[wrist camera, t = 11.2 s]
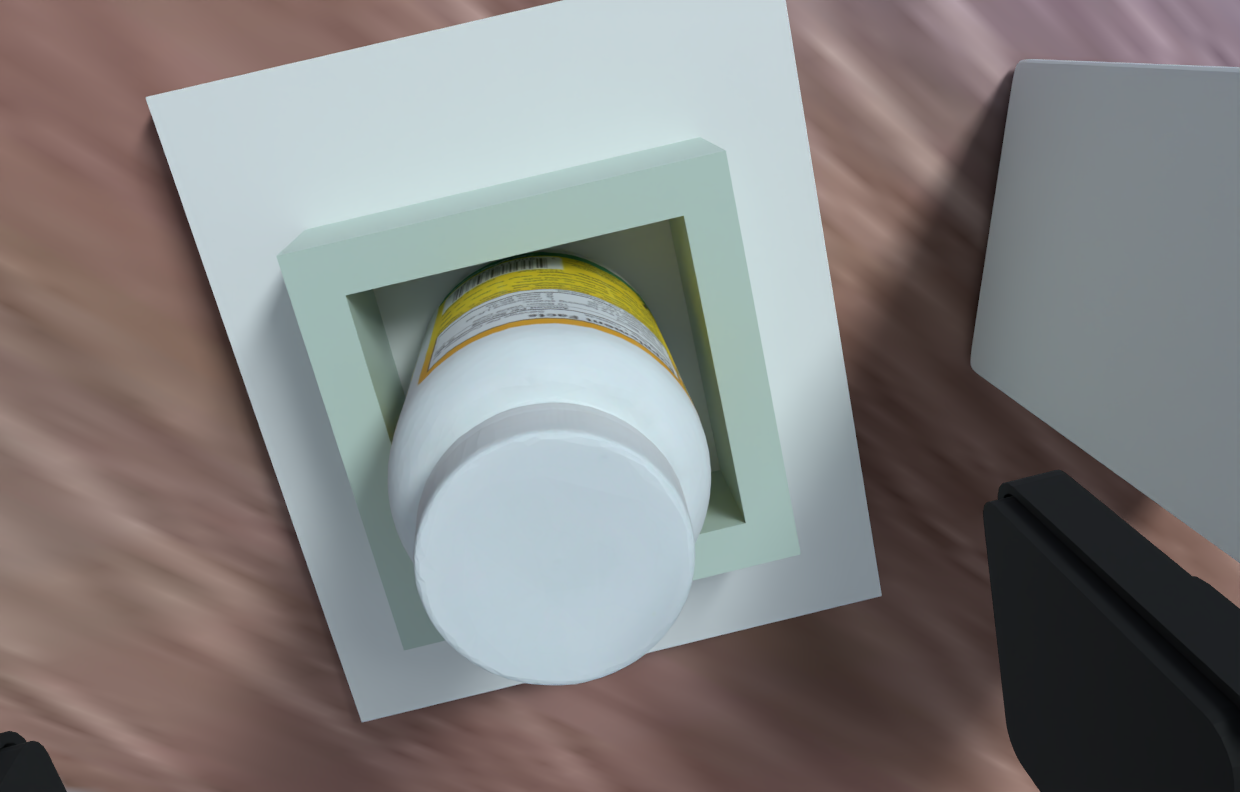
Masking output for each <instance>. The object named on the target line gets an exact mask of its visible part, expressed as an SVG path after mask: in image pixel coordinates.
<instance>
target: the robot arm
mask: <svg viewBox="0 0 1240 792" xmlns="http://www.w3.org/2000/svg"><path fill="white" fill-rule="evenodd" d="M983 519H984V528H985V537H986V546H987V555H988V564H989V573H990V582H991V591H992V600H993V609H994V618H995V627H996V636H997V645H998V654H999V663H1000V672H1001V681H1002V690H1003V699H1004V708H1005V717H1006V725H1007V730H1008V734H1009V738H1010V741H1011V744H1012V746H1013V749H1014V751H1015V754H1016V756H1017V758H1018V760H1019V761H1020V763H1021V765H1022V766H1023V768H1024V769H1025V770H1026V772H1027V773H1028V775H1029V776H1030V778H1031V779H1032V780H1033V782H1034V783H1035V785H1036V786H1037V787H1038V789H1039V790H1040V792H1240V609H1239V608H1238V607H1237V606H1236V605H1234V604H1233V603H1232V602H1231V601H1229V600H1228V599H1227V598H1226V597H1224V596H1223V595H1222V594H1221V593H1219V592H1218V591H1217V590H1216V589H1215V588H1213V587H1212V586H1211V585H1210V584H1208V583H1206V582H1205V581H1203V580H1201V579H1199V578H1198V577H1195V576H1191V575H1190V574H1189V573H1188V572H1186V571H1185V570H1184V569H1183V568H1181V567H1180V566H1179V565H1178V564H1177V563H1175V562H1174V561H1173V560H1172V559H1170V558H1169V557H1168V556H1167V555H1166V554H1164V553H1163V552H1162V551H1161V550H1159V549H1158V548H1157V547H1156V546H1154V545H1153V544H1152V543H1151V542H1150V541H1148V540H1147V539H1146V538H1145V537H1143V536H1142V535H1141V534H1140V533H1139V532H1137V531H1136V530H1135V529H1134V528H1132V527H1131V526H1130V525H1129V524H1128V523H1126V522H1125V521H1124V520H1123V519H1121V518H1120V517H1119V516H1118V515H1116V514H1115V513H1114V512H1113V511H1112V510H1110V509H1109V508H1108V507H1107V506H1105V505H1104V504H1103V503H1102V502H1101V501H1099V500H1098V499H1097V498H1096V497H1094V496H1093V495H1092V494H1091V493H1090V492H1088V491H1087V490H1086V489H1085V488H1083V487H1082V486H1081V485H1080V484H1078V483H1077V482H1076V481H1075V480H1074V479H1072V478H1071V477H1070V476H1069V475H1067V474H1066V473H1065V472H1063V471H1061V470H1055V471H1050V472H1046V473H1042V474H1038V475H1034V476H1030V477H1026V478H1022V479H1018V480H1014V481H1010V482H1006V483H1002V485H1001V486H1000V488H999V492H998V500H995V501H991V502H987V503H986V504H985V505H984V510H983ZM0 792H67V791H66V789H65V787H64V785H63V783H62V781H61V779H60V777H59V775H58V773H57V771H56V769H55V767H54V765H53V763H52V761H51V758H50V756H49V754H48V753H47V751H46V750H45V748H44V747H43V746H42V745H41V744H40V743H39V742H36V741H30V742H26V740H25V739H24V738H23V737H22V736H20V735H19V734H18V733H16V732H12V731H8V732H4V733H0Z"/></svg>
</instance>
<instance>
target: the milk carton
mask: <svg viewBox="0 0 1240 792" xmlns="http://www.w3.org/2000/svg"><path fill="white" fill-rule="evenodd" d="M971 367H972V369H973V370H974V371H975V372H976V373H977V374H979V375H980V376H981V377H983V378H984V379H985V380H987V381H988V382H990V383H991V384H992V385H994V386H995V387H997V388H998V389H999V390H1001V391H1002V392H1003V393H1005V394H1006V395H1008V396H1009V397H1010V398H1012V399H1013V400H1015V401H1016V402H1017V403H1019V404H1020V405H1021V406H1023V407H1024V408H1026V409H1027V410H1028V411H1030V412H1031V413H1033V414H1034V415H1035V416H1037V417H1038V418H1040V419H1041V420H1042V421H1044V422H1045V423H1046V424H1048V425H1049V426H1051V427H1052V428H1053V429H1055V430H1056V431H1058V432H1059V433H1060V434H1062V435H1063V436H1064V437H1066V438H1067V439H1069V440H1070V441H1071V442H1073V443H1074V444H1076V445H1077V446H1078V447H1080V448H1081V449H1082V450H1084V451H1085V452H1087V453H1088V454H1089V455H1091V456H1092V457H1094V458H1095V459H1096V460H1098V461H1099V462H1100V463H1102V464H1103V465H1105V466H1106V467H1107V468H1109V469H1110V470H1112V471H1113V472H1114V473H1116V474H1117V475H1118V476H1120V477H1121V478H1123V479H1124V480H1125V481H1127V482H1128V483H1130V484H1131V485H1132V486H1134V487H1135V488H1137V489H1138V490H1139V491H1141V492H1142V493H1143V494H1145V495H1146V496H1148V497H1149V498H1150V499H1152V500H1153V501H1155V502H1156V503H1157V504H1159V505H1160V506H1161V507H1163V508H1164V509H1166V510H1167V511H1168V512H1170V513H1171V514H1173V515H1174V516H1175V517H1177V518H1178V519H1179V520H1181V521H1182V522H1184V523H1185V524H1186V525H1188V526H1189V527H1191V528H1192V529H1193V530H1195V531H1196V532H1197V533H1199V534H1200V535H1202V536H1203V537H1204V538H1206V539H1207V540H1209V541H1210V542H1211V543H1213V544H1214V545H1216V546H1217V547H1218V548H1220V549H1221V550H1222V551H1224V552H1225V553H1227V554H1228V555H1229V556H1231V557H1232V558H1234V559H1235V560H1236V561H1238V562H1239V563H1240V67H1218V66H1193V65H1167V64H1142V63H1116V62H1091V61H1065V60H1040V59H1027V60H1021V61H1020V62H1019V63H1018V64H1017V65H1016V68H1015V72H1014V77H1013V82H1012V88H1011V94H1010V100H1009V107H1008V113H1007V120H1006V126H1005V133H1004V139H1003V146H1002V152H1001V159H1000V165H999V172H998V179H997V185H996V192H995V198H994V205H993V211H992V218H991V224H990V231H989V237H988V244H987V251H986V257H985V264H984V270H983V277H982V283H981V290H980V296H979V303H978V309H977V316H976V323H975V329H974V336H973V343H972V351H971Z"/></svg>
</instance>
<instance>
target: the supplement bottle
mask: <svg viewBox="0 0 1240 792" xmlns="http://www.w3.org/2000/svg"><path fill="white" fill-rule="evenodd" d="M710 488H711V466H710V456H709V450H708V445H707V440H706V436H705V433H704V430H703V427H702V425H701V422H700V418H699V416H698V413H697V411H696V409H695V407H694V405H693V402H692V400H691V398H690V395H689V393H688V391H687V389H686V387H685V385H684V383H683V381H682V378H681V376H680V374H679V372H678V370H677V367H676V365H675V363H674V361H673V358H672V356H671V354H670V351H669V349H668V347H667V345H666V343H665V341H664V339H663V336H662V334H661V332H660V330H659V328H658V326H657V323H656V321H655V319H654V317H653V315H652V313H651V311H650V309H649V308H648V306H647V305H646V303H645V301H644V300H643V298H642V297H641V296H640V294H639V293H638V292H637V291H636V289H635V288H634V287H633V286H632V285H631V284H630V283H629V282H628V281H627V280H626V279H624V278H623V277H622V276H620V275H619V274H618V273H616V272H615V271H613V270H612V269H610V268H609V267H607V266H605V265H603V264H601V263H600V262H597V261H595V260H593V259H591V258H588V257H585V256H583V255H579V254H576V253H572V252H566V251H560V250H550V249H540V250H536V251H532V252H527V253H523V254H519V255H515V256H511V257H506V258H502V259H498V260H494V261H489V262H487V263H485V264H483V265H481V266H479V267H477V268H476V269H474V270H473V271H471V272H470V273H469V274H467V275H466V276H465V277H463V278H462V279H461V280H460V281H459V282H458V283H457V284H455V285H454V286H453V287H452V288H451V290H450V291H449V292H448V293H447V294H446V295H445V297H444V298H443V299H442V300H441V302H440V304H439V305H438V307H437V309H436V310H435V312H434V314H433V316H432V318H431V320H430V322H429V324H428V327H427V330H426V333H425V336H424V339H423V342H422V345H421V349H420V352H419V356H418V359H417V362H416V366H415V369H414V372H413V375H412V379H411V383H410V386H409V389H408V392H407V395H406V399H405V402H404V405H403V408H402V411H401V414H400V416H399V420H398V423H397V426H396V429H395V432H394V436H393V441H392V445H391V449H390V455H389V461H388V496H389V503H390V509H391V513H392V517H393V521H394V524H395V527H396V530H397V533H398V535H399V538H400V540H401V542H402V545H403V546H404V548H405V550H406V552H407V554H408V555H409V557H410V559H411V560H412V562H413V564H414V573H415V582H416V586H417V591H418V593H419V596H420V599H421V602H422V604H423V607H424V609H425V611H426V613H427V615H428V617H429V619H430V621H431V622H432V624H433V625H434V627H435V628H436V630H437V631H438V632H439V633H440V635H441V636H442V637H443V638H444V639H445V640H446V641H447V643H448V644H449V645H451V646H452V647H453V648H454V649H455V650H456V651H457V652H458V653H459V654H461V655H462V656H463V657H465V658H466V659H468V660H469V661H470V662H471V663H473V664H475V665H477V666H479V667H481V668H482V669H484V670H486V671H488V672H490V673H493V674H496V675H498V676H501V677H504V678H507V679H510V680H514V681H518V682H523V683H527V684H538V685H569V684H578V683H584V682H588V681H591V680H594V679H598V678H602V677H604V676H607V675H609V674H612V673H614V672H616V671H618V670H620V669H622V668H624V667H626V666H628V665H630V664H632V663H633V662H635V661H636V660H638V659H639V658H641V657H642V656H643V655H644V654H646V653H647V652H648V651H649V650H650V649H652V648H653V647H654V646H655V645H656V644H657V643H658V642H659V641H660V640H661V639H662V638H663V637H664V636H665V635H666V633H667V632H668V631H669V629H670V628H671V627H672V625H673V624H674V623H675V621H676V619H677V618H678V616H679V614H680V613H681V611H682V609H683V607H684V604H685V602H686V600H687V597H688V594H689V592H690V589H691V586H692V581H693V575H694V567H695V543H696V541H697V539H698V537H699V534H700V532H701V529H702V527H703V524H704V520H705V517H706V513H707V509H708V504H709V498H710Z"/></svg>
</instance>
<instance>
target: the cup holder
mask: <svg viewBox="0 0 1240 792" xmlns="http://www.w3.org/2000/svg"><path fill="white" fill-rule="evenodd" d="M146 100H147V103H148V106H149V109H150V112H151V115H152V118H153V121H154V123H155V126H156V129H157V132H158V135H159V138H160V141H161V144H162V147H163V149H164V152H165V155H166V158H167V161H168V164H169V167H170V170H171V173H172V175H173V178H174V181H175V184H176V187H177V190H178V193H179V196H180V199H181V201H182V204H183V207H184V210H185V213H186V216H187V219H188V222H189V225H190V227H191V230H192V233H193V236H194V239H195V242H196V245H197V248H198V251H199V253H200V256H201V259H202V262H203V265H204V268H205V271H206V274H207V277H208V279H209V282H210V285H211V288H212V291H213V294H214V297H215V300H216V303H217V305H218V308H219V311H220V314H221V317H222V320H223V323H224V326H225V329H226V331H227V334H228V337H229V340H230V343H231V346H232V349H233V352H234V355H235V357H236V360H237V363H238V366H239V369H240V372H241V375H242V378H243V381H244V384H245V386H246V389H247V392H248V395H249V398H250V401H251V404H252V407H253V410H254V412H255V415H256V418H257V421H258V424H259V427H260V430H261V433H262V436H263V438H264V441H265V444H266V447H267V450H268V453H269V456H270V459H271V462H272V464H273V467H274V470H275V473H276V476H277V479H278V482H279V485H280V488H281V490H282V493H283V496H284V499H285V502H286V505H287V508H288V511H289V514H290V516H291V519H292V522H293V525H294V528H295V531H296V534H297V537H298V540H299V542H300V545H301V548H302V551H303V554H304V557H305V560H306V563H307V566H308V568H309V571H310V574H311V577H312V580H313V583H314V586H315V589H316V592H317V594H318V597H319V600H320V603H321V606H322V609H323V612H324V615H325V618H326V620H327V623H328V626H329V629H330V632H331V635H332V638H333V641H334V644H335V646H336V649H337V652H338V655H339V658H340V661H341V664H342V667H343V670H344V672H345V675H346V678H347V681H348V684H349V687H350V690H351V693H352V696H353V698H354V701H355V704H356V707H357V710H358V713H359V716H360V719H361V722H366V721H370V720H374V719H378V718H382V717H387V716H391V715H395V714H399V713H403V712H407V711H411V710H415V709H419V708H424V707H428V706H432V705H436V704H440V703H444V702H448V701H452V700H456V699H460V698H465V697H469V696H473V695H477V694H481V693H485V692H489V691H493V690H497V689H502V688H506V687H510V686H514V685H518V684H522V683H523V682H518V681H514V680H510V679H507V678H504V677H501V676H498V675H496V674H493V673H490V672H488V671H486V670H484V669H482V668H481V667H479V666H477V665H475V664H473V663H471V662H470V661H469V660H468V659H466V658H465V657H463V656H462V655H461V654H459V653H458V652H457V651H456V650H455V649H454V648H453V647H452V646H451V645H449V644H448V643H447V641H446V640H445V639H444V638H443V637H442V636H441V635H440V633H439V632H438V631H437V630H436V628H435V627H434V625H433V624H432V622H431V621H430V619H429V617H428V615H427V613H426V611H425V609H424V607H423V604H422V602H421V599H420V596H419V593H418V591H417V586H416V582H415V573H414V564H413V562H412V560H411V559H410V557H409V555H408V554H407V552H406V550H405V548H404V546H403V545H402V542H401V540H400V538H399V535H398V533H397V530H396V527H395V524H394V521H393V517H392V513H391V509H390V503H389V496H388V461H389V455H390V449H391V445H392V441H393V436H394V432H395V429H396V426H397V423H398V420H399V416H400V414H401V411H402V408H403V405H404V402H405V399H406V395H407V392H408V389H409V386H410V383H411V379H412V375H413V372H414V369H415V366H416V362H417V359H418V356H419V352H420V349H421V345H422V342H423V339H424V336H425V333H426V330H427V327H428V324H429V322H430V320H431V318H432V316H433V314H434V312H435V310H436V309H437V307H438V305H439V304H440V302H441V300H442V299H443V298H444V297H445V295H446V294H447V293H448V292H449V291H450V290H451V288H452V287H453V286H454V285H455V284H457V283H458V282H459V281H460V280H461V279H462V278H463V277H465V276H466V275H467V274H469V273H470V272H471V271H473V270H474V269H476V268H477V267H479V266H481V265H483V264H485V263H487V262H489V261H494V260H498V259H502V258H506V257H511V256H515V255H519V254H523V253H527V252H532V251H536V250H540V249H550V250H560V251H566V252H572V253H576V254H579V255H583V256H585V257H588V258H591V259H593V260H595V261H597V262H600V263H601V264H603V265H605V266H607V267H609V268H610V269H612V270H613V271H615V272H616V273H618V274H619V275H620V276H622V277H623V278H624V279H626V280H627V281H628V282H629V283H630V284H631V285H632V286H633V287H634V288H635V289H636V291H637V292H638V293H639V294H640V296H641V297H642V298H643V300H644V301H645V303H646V305H647V306H648V308H649V309H650V311H651V313H652V315H653V317H654V319H655V321H656V323H657V326H658V328H659V330H660V332H661V334H662V336H663V339H664V341H665V343H666V345H667V347H668V349H669V351H670V354H671V356H672V358H673V361H674V363H675V365H676V367H677V370H678V372H679V374H680V376H681V378H682V381H683V383H684V385H685V387H686V389H687V391H688V393H689V395H690V398H691V400H692V402H693V405H694V407H695V409H696V411H697V413H698V416H699V418H700V422H701V425H702V427H703V430H704V433H705V436H706V440H707V445H708V450H709V456H710V466H711V488H710V498H709V504H708V509H707V513H706V517H705V520H704V524H703V527H702V529H701V532H700V534H699V537H698V539H697V541H696V543H695V567H694V575H693V581H692V586H691V589H690V592H689V594H688V597H687V600H686V602H685V604H684V607H683V609H682V611H681V613H680V614H679V616H678V618H677V619H676V621H675V623H674V624H673V625H672V627H671V628H670V629H669V631H668V632H667V633H666V635H665V636H664V637H663V638H662V639H661V640H660V641H659V642H658V643H657V644H656V645H655V646H654V647H653V648H652V649H650V650H649V651H648V652H647V653H649V652H654V651H658V650H662V649H666V648H670V647H674V646H678V645H682V644H686V643H691V642H695V641H699V640H703V639H707V638H711V637H715V636H719V635H723V634H728V633H732V632H736V631H740V630H744V629H748V628H752V627H756V626H760V625H765V624H769V623H773V622H777V621H781V620H785V619H789V618H793V617H797V616H802V615H806V614H810V613H814V612H818V611H822V610H826V609H830V608H834V607H838V606H843V605H847V604H851V603H855V602H859V601H863V600H867V599H871V598H875V597H880V596H882V594H881V587H880V581H879V575H878V569H877V563H876V557H875V550H874V544H873V538H872V532H871V526H870V520H869V513H868V507H867V501H866V495H865V489H864V482H863V476H862V470H861V464H860V458H859V452H858V445H857V439H856V433H855V427H854V421H853V414H852V408H851V402H850V396H849V390H848V384H847V377H846V371H845V365H844V359H843V353H842V347H841V340H840V334H839V328H838V322H837V316H836V309H835V303H834V297H833V291H832V285H831V279H830V272H829V266H828V260H827V254H826V248H825V242H824V235H823V229H822V223H821V217H820V211H819V204H818V198H817V192H816V186H815V180H814V174H813V167H812V161H811V155H810V149H809V143H808V137H807V130H806V124H805V118H804V112H803V106H802V99H801V93H800V87H799V81H798V75H797V69H796V62H795V56H794V50H793V44H792V38H791V31H790V25H789V19H788V13H787V7H786V1H785V0H563V1H559V2H554V3H550V4H546V5H541V6H537V7H533V8H528V9H524V10H520V11H515V12H511V13H507V14H503V15H498V16H494V17H490V18H485V19H481V20H477V21H472V22H468V23H464V24H459V25H455V26H451V27H446V28H442V29H438V30H434V31H429V32H425V33H421V34H416V35H412V36H408V37H403V38H399V39H395V40H390V41H386V42H382V43H377V44H373V45H369V46H365V47H360V48H356V49H352V50H347V51H343V52H339V53H334V54H330V55H326V56H321V57H317V58H313V59H308V60H304V61H300V62H295V63H291V64H287V65H283V66H278V67H274V68H270V69H265V70H261V71H257V72H252V73H248V74H244V75H239V76H235V77H231V78H226V79H222V80H218V81H214V82H209V83H205V84H201V85H196V86H192V87H188V88H183V89H179V90H175V91H170V92H166V93H162V94H157V95H153V96H149V97H146Z"/></svg>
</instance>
